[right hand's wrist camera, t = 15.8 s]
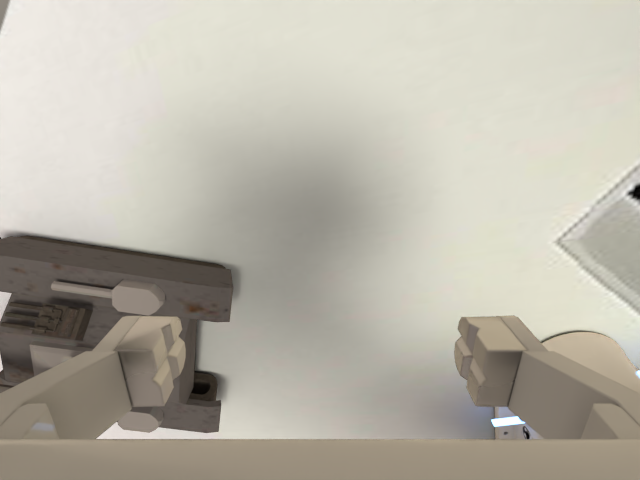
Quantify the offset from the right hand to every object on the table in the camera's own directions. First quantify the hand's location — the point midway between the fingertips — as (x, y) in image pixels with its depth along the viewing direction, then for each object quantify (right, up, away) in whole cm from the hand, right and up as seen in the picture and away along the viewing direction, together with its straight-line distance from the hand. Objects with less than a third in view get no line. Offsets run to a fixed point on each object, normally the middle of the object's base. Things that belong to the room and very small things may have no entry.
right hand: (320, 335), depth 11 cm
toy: (-23, -7, +33) cm, 41 cm away
